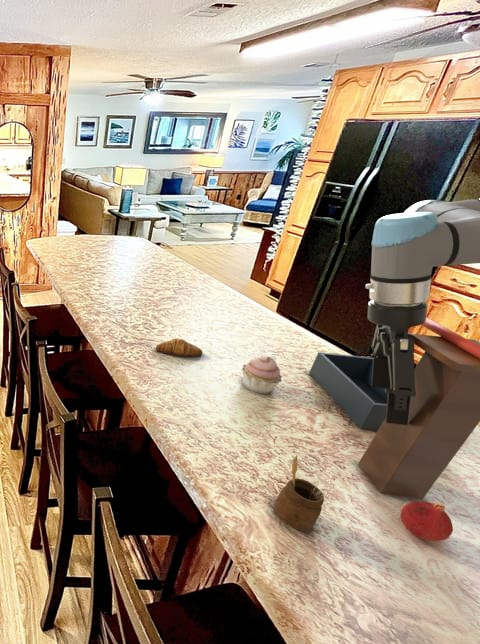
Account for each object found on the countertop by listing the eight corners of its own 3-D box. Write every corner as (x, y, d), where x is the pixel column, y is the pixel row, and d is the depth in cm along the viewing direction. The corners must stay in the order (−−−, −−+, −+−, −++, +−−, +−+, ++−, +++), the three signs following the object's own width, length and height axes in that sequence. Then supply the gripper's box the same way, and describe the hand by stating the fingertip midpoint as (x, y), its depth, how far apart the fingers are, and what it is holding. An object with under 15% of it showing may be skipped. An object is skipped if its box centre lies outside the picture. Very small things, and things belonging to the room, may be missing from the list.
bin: (308, 374, 110) (318, 352, 106) (361, 380, 108) (373, 357, 104) (359, 429, 90) (374, 404, 86) (426, 438, 88) (444, 412, 84)
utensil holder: (304, 539, 65) (333, 490, 60) (264, 512, 70) (287, 464, 65) (317, 521, 69) (345, 473, 63) (278, 495, 73) (301, 449, 68)
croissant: (197, 350, 120) (201, 336, 118) (204, 362, 114) (208, 347, 112) (152, 345, 122) (156, 331, 120) (157, 357, 116) (160, 342, 114)
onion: (403, 544, 65) (427, 513, 61) (385, 515, 70) (406, 484, 66) (447, 556, 63) (474, 524, 60) (425, 525, 68) (449, 494, 65)
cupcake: (230, 385, 104) (241, 354, 100) (244, 373, 110) (255, 343, 105) (269, 403, 98) (282, 370, 93) (281, 389, 103) (295, 357, 99)
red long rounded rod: (403, 316, 76) (407, 309, 75) (412, 317, 76) (416, 309, 75) (489, 367, 60) (496, 358, 59) (502, 368, 60) (508, 359, 59)
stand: (341, 455, 83) (409, 333, 69) (394, 462, 81) (474, 339, 68) (372, 495, 74) (458, 363, 60) (433, 504, 72) (534, 371, 59)
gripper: (357, 282, 82) (352, 372, 87) (383, 325, 62) (374, 436, 68) (408, 281, 77) (399, 376, 83) (452, 326, 58) (436, 445, 64)
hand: (387, 403), depth 76 cm, fingers open, 13 cm apart
